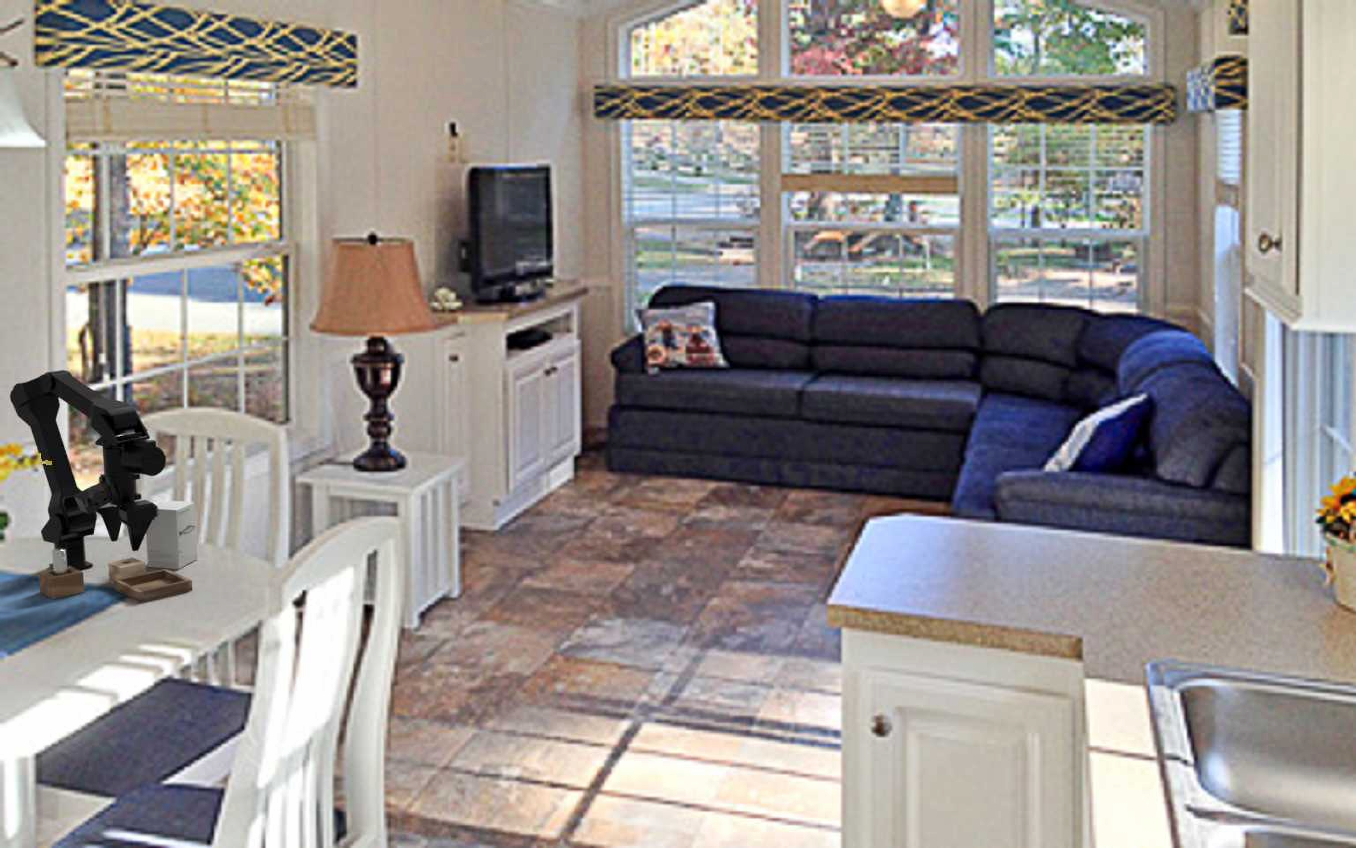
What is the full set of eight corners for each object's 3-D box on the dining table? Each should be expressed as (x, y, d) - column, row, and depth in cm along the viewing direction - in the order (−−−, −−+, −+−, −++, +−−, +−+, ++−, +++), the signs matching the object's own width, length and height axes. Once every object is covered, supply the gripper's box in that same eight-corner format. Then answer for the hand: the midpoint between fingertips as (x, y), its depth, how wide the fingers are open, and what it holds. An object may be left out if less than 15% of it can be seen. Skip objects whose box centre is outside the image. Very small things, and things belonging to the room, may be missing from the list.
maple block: (109, 582, 267) (108, 562, 267) (133, 576, 271) (132, 557, 270) (121, 587, 264) (120, 567, 263) (145, 581, 268) (144, 562, 267)
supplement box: (179, 570, 275) (175, 510, 273) (146, 567, 277) (142, 508, 274) (199, 559, 282) (195, 501, 280) (167, 557, 284) (163, 499, 281)
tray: (114, 590, 262) (113, 580, 262) (166, 578, 270) (166, 568, 269) (139, 602, 255) (138, 592, 255) (192, 590, 263) (191, 580, 262)
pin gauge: (53, 592, 260) (49, 549, 259) (65, 589, 262) (62, 547, 260) (58, 595, 259) (55, 552, 257) (71, 592, 260) (67, 550, 259)
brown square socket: (40, 592, 260) (38, 572, 259) (71, 585, 265) (69, 565, 264) (53, 599, 256) (51, 579, 255) (84, 592, 261) (83, 572, 260)
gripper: (57, 467, 264) (63, 544, 267) (99, 484, 251) (105, 564, 254) (113, 459, 272) (118, 533, 275) (157, 474, 259) (161, 552, 262)
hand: (124, 545), depth 266 cm, fingers open, 9 cm apart
